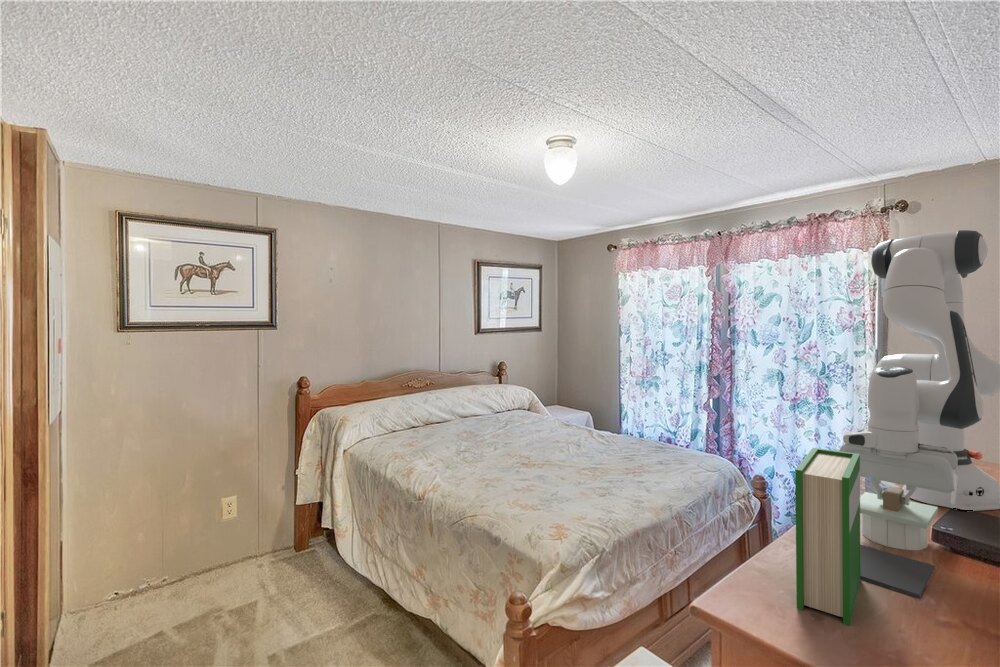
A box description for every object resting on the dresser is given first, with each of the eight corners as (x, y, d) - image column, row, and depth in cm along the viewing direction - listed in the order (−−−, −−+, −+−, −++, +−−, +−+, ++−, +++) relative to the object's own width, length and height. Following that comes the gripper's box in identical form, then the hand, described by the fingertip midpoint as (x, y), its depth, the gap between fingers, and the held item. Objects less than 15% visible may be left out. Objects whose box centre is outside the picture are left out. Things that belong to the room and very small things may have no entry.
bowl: (901, 528, 111) (901, 502, 111) (940, 550, 100) (940, 522, 100) (851, 527, 112) (851, 502, 112) (884, 549, 101) (884, 521, 101)
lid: (865, 495, 115) (865, 477, 115) (937, 511, 105) (937, 491, 105) (849, 510, 106) (849, 490, 106) (926, 529, 96) (926, 507, 96)
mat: (843, 542, 104) (843, 539, 104) (934, 568, 93) (934, 565, 93) (820, 565, 95) (820, 562, 95) (919, 598, 83) (919, 594, 83)
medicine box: (904, 524, 113) (903, 488, 113) (882, 523, 114) (882, 487, 113) (884, 511, 121) (884, 477, 120) (864, 510, 121) (864, 476, 121)
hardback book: (850, 625, 76) (849, 478, 76) (796, 608, 81) (795, 469, 81) (860, 579, 89) (859, 453, 89) (814, 567, 94) (812, 447, 94)
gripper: (959, 446, 99) (960, 511, 100) (843, 430, 115) (843, 486, 115) (955, 451, 95) (955, 519, 96) (834, 435, 111) (835, 493, 111)
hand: (893, 501), depth 106 cm, fingers closed on lid, 2 cm apart
